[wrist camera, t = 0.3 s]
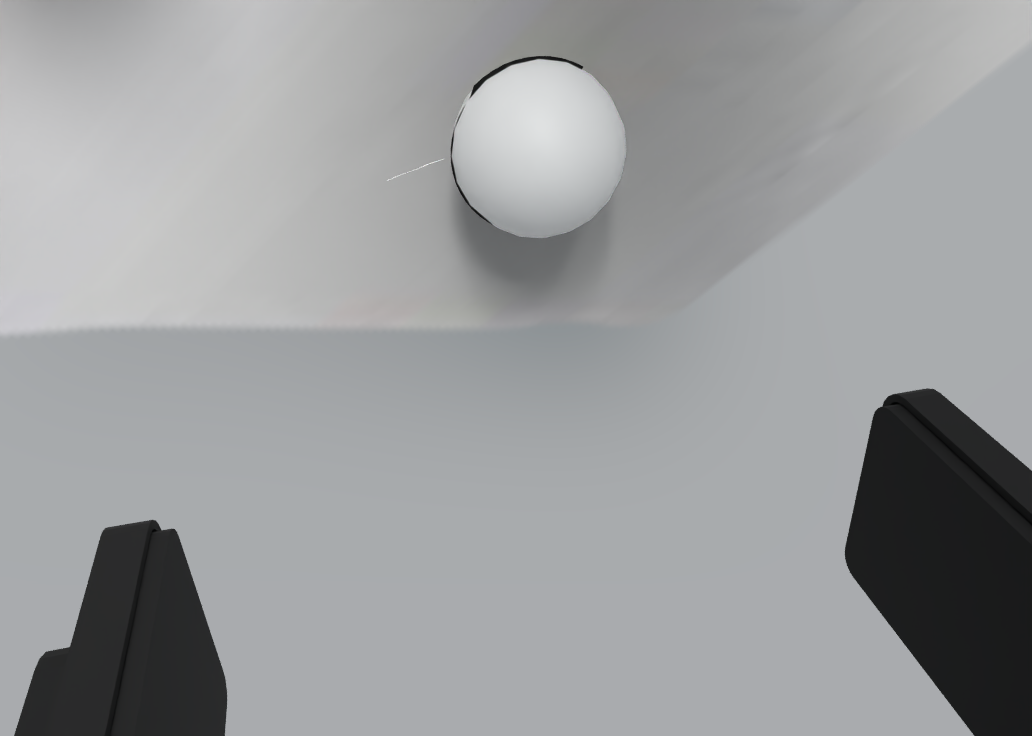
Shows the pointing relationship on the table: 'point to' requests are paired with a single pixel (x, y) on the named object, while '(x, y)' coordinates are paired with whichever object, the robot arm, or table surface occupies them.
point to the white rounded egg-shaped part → (537, 147)
